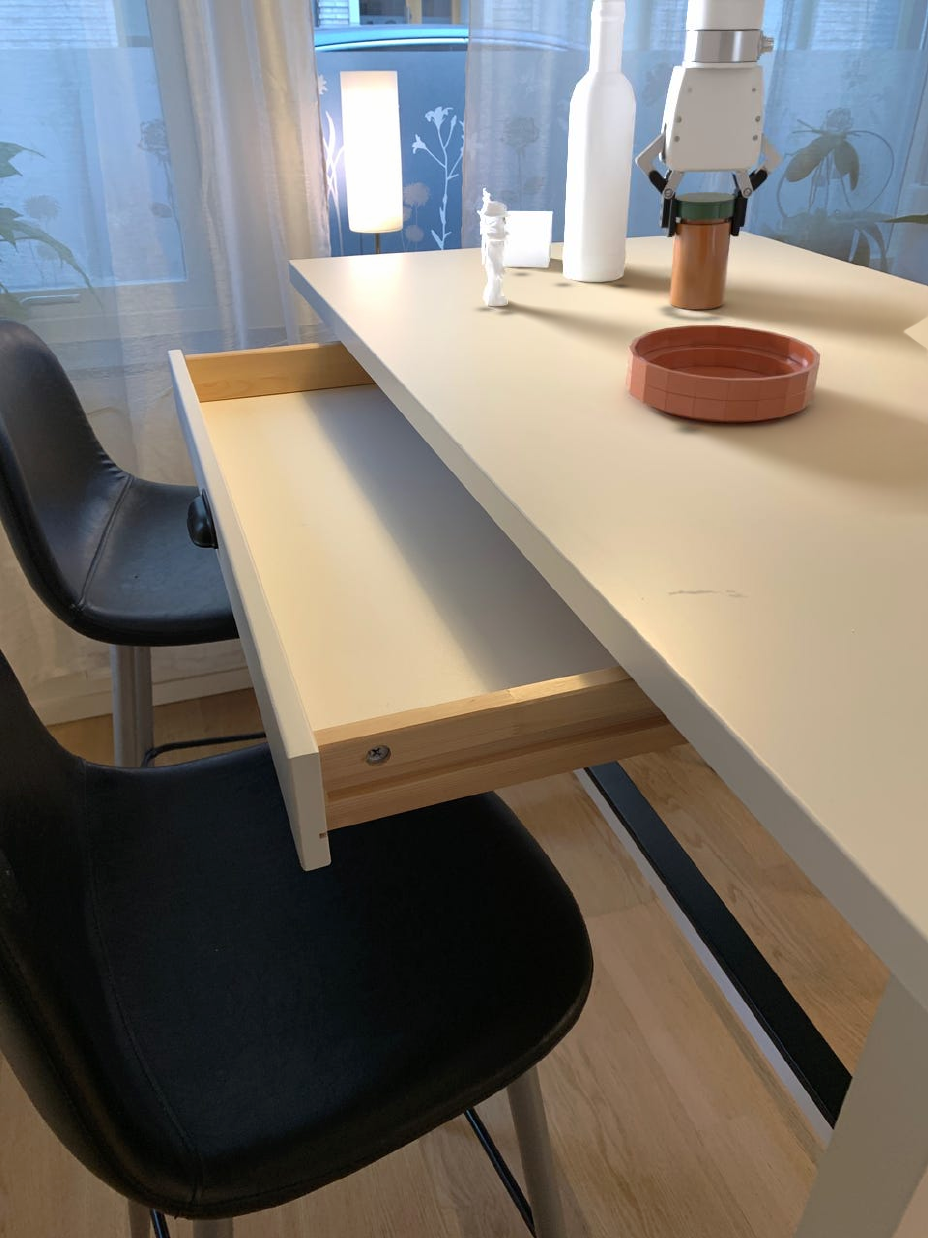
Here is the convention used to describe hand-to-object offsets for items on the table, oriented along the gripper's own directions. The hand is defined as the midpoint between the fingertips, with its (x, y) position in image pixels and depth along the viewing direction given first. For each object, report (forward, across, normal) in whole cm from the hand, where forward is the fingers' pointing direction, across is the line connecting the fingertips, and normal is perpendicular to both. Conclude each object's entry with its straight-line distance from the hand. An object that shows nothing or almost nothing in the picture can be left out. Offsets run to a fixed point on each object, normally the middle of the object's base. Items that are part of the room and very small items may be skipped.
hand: (700, 232), depth 110 cm
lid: (-4, 0, 0) cm, 4 cm away
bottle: (+8, +10, -14) cm, 19 cm away
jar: (+8, 0, 0) cm, 8 cm away
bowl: (+8, +5, +32) cm, 33 cm away
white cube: (+8, +18, -22) cm, 30 cm away
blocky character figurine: (+8, +23, -1) cm, 24 cm away
